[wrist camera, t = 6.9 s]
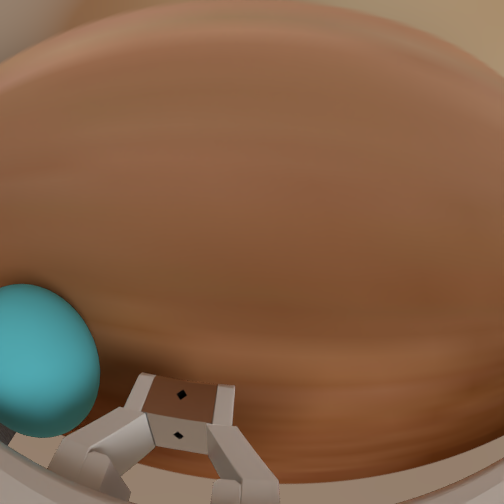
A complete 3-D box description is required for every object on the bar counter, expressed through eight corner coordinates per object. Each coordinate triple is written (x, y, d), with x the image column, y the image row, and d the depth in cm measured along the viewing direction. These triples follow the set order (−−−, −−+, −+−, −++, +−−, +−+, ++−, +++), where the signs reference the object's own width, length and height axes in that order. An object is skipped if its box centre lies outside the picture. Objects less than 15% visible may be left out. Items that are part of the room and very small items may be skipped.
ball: (-84, 327, 3) (-5, 260, 9) (-10, 444, 6) (31, 363, 11) (27, 356, 4) (100, 258, 10) (106, 479, 6) (126, 374, 12)
